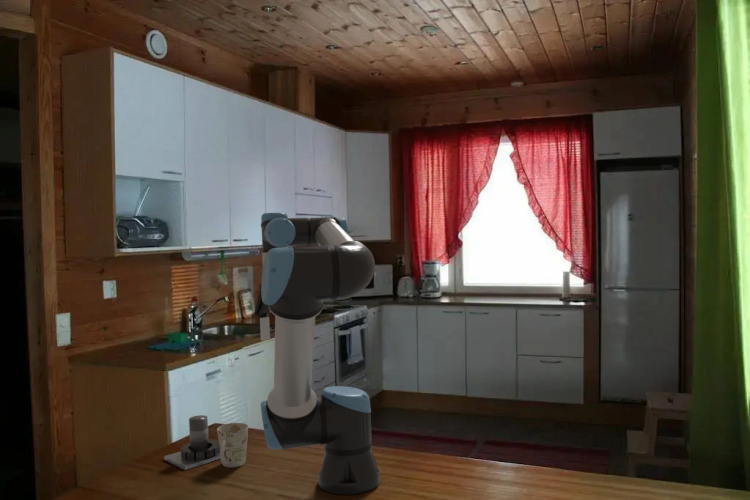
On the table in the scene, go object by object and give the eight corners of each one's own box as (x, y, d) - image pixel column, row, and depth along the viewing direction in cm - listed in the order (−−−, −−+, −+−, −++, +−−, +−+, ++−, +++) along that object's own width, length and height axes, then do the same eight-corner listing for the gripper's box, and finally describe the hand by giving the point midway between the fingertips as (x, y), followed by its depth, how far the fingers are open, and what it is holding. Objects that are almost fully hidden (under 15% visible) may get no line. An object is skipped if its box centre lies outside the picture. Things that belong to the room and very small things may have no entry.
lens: (212, 452, 173) (210, 417, 173) (196, 457, 170) (194, 422, 170) (203, 448, 177) (202, 414, 177) (187, 453, 174) (185, 418, 173)
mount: (236, 453, 175) (236, 443, 175) (185, 470, 163) (184, 459, 163) (215, 444, 183) (214, 434, 183) (164, 459, 172) (164, 449, 172)
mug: (253, 458, 171) (252, 422, 171) (239, 475, 158) (237, 437, 158) (224, 458, 172) (223, 422, 171) (208, 475, 159) (206, 437, 159)
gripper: (314, 267, 167) (317, 344, 167) (262, 266, 184) (264, 336, 185) (292, 268, 161) (295, 348, 162) (240, 267, 179) (243, 339, 179)
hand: (279, 342), depth 173 cm, fingers open, 13 cm apart
